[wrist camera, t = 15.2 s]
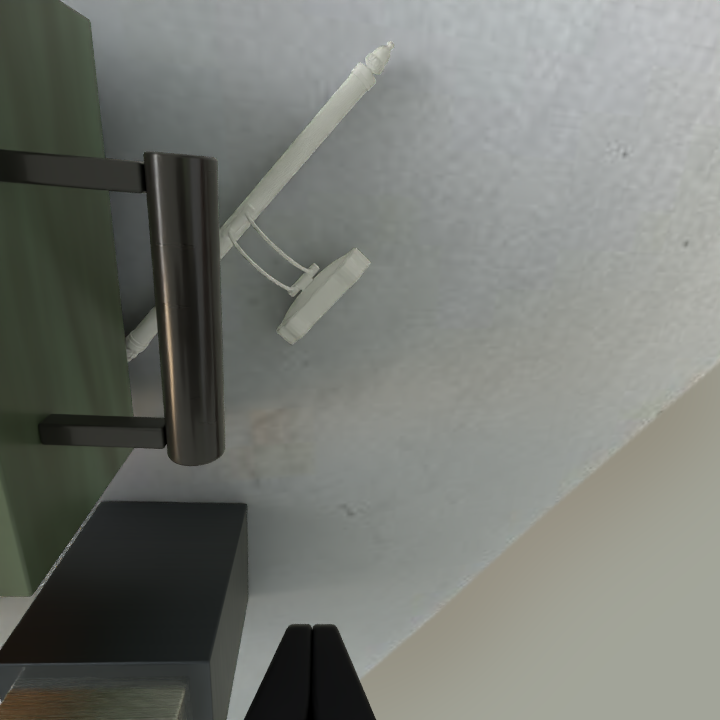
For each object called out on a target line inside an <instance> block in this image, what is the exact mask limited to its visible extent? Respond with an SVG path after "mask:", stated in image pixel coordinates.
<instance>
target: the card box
mask: <svg viewBox="0 0 720 720" xmlns="http://www.w3.org/2000/svg"><path fill="white" fill-rule="evenodd" d="M247 603H248V534H247V504H213V503H158V502H101V503H100V504H99V506H98V507H97V509H96V510H95V512H94V513H93V515H92V516H91V517H90V519H89V520H88V522H87V523H86V525H85V526H84V528H83V529H82V531H81V532H80V534H79V535H78V537H77V538H76V539H75V541H74V542H73V544H72V545H71V547H70V548H69V550H68V551H67V553H66V554H65V556H64V557H63V559H62V560H61V562H60V563H59V564H58V566H57V567H56V569H55V570H54V572H53V573H52V575H51V576H50V578H49V579H48V581H47V582H46V584H45V585H44V586H43V588H42V589H41V591H40V592H39V594H38V595H37V597H36V598H35V600H34V601H33V603H32V604H31V606H30V607H29V608H28V610H27V611H26V613H25V614H24V616H23V617H22V619H21V620H20V622H19V623H18V625H17V626H16V628H15V629H14V630H13V632H12V633H11V635H10V636H9V638H8V639H7V641H6V642H5V644H4V645H3V647H2V648H1V650H0V699H1V702H2V703H1V705H0V720H226V719H227V713H228V708H229V702H230V697H231V691H232V686H233V680H234V675H235V669H236V664H237V658H238V653H239V647H240V642H241V636H242V631H243V625H244V620H245V614H246V609H247Z"/></svg>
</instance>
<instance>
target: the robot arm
mask: <svg viewBox="0 0 720 720" xmlns="http://www.w3.org/2000/svg"><path fill="white" fill-rule="evenodd" d="M244 720H376V719H375V716H374V714H373V711H372V709H371V707H370V704H369V702H368V699H367V697H366V695H365V692H364V690H363V688H362V685H361V683H360V680H359V678H358V676H357V673H356V671H355V668H354V666H353V664H352V661H351V659H350V657H349V654H348V652H347V649H346V647H345V645H344V642H343V640H342V638H341V635H340V633H339V630H338V629H337V627H336V626H335V625H333V624H316V625H314V626H313V629H312V627H311V625H309V624H291V625H289V626H288V628H287V629H286V631H285V633H284V636H283V638H282V640H281V642H280V644H279V646H278V648H277V650H276V653H275V655H274V657H273V659H272V661H271V663H270V665H269V667H268V670H267V672H266V674H265V676H264V678H263V680H262V682H261V684H260V687H259V689H258V691H257V693H256V695H255V697H254V699H253V701H252V704H251V706H250V708H249V710H248V712H247V714H246V716H245V718H244Z"/></svg>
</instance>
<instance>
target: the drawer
mask: <svg viewBox="0 0 720 720" xmlns="http://www.w3.org/2000/svg"><path fill="white" fill-rule="evenodd" d="M143 157H144V162H143V161H132V160H121V159H109V158H105V152H104V142H103V133H102V124H101V115H100V106H99V97H98V87H97V78H96V69H95V60H94V51H93V42H92V32H91V23H90V20H89V19H87V18H86V17H84V16H83V15H81V14H80V13H78V12H77V11H75V10H73V9H72V8H70V7H69V6H67V5H66V4H64V3H63V2H61V1H60V0H0V596H4V597H29V596H32V595H33V594H34V592H35V591H36V589H37V588H38V586H39V585H40V584H41V582H42V581H43V579H44V578H45V576H46V575H47V573H48V572H49V571H50V569H51V568H52V566H53V565H54V563H55V562H56V560H57V559H58V558H59V556H60V555H61V553H62V552H63V550H64V549H65V547H66V546H67V545H68V543H69V542H70V540H71V539H72V537H73V536H74V534H75V533H76V532H77V530H78V529H79V527H80V526H81V524H82V523H83V521H84V520H85V519H86V517H87V516H88V514H89V513H90V511H91V510H92V508H93V507H94V506H95V504H96V503H97V501H98V500H99V498H100V497H101V495H102V494H103V493H104V491H105V490H106V488H107V487H108V485H109V484H110V482H111V481H112V479H113V478H114V477H115V475H116V474H117V472H118V471H119V469H120V468H121V466H122V465H123V464H124V462H125V461H126V459H127V458H128V456H129V455H130V453H131V452H132V451H133V449H134V448H154V449H163V448H165V446H166V444H167V453H168V456H169V458H170V459H171V460H172V461H173V462H175V463H177V464H180V465H184V466H199V465H204V464H208V463H210V462H213V461H215V460H216V459H218V458H219V457H220V456H221V455H222V454H223V453H224V451H225V417H224V380H223V343H222V306H221V270H220V233H219V196H218V161H217V159H216V158H214V157H206V156H196V155H186V154H175V153H164V152H153V151H146V152H144V154H143ZM109 191H116V192H128V193H140V194H141V193H146V194H147V207H148V219H149V231H150V244H151V256H152V268H153V281H154V293H155V305H156V318H157V330H158V342H159V355H160V367H161V379H162V392H163V404H164V416H165V418H154V417H133V408H132V399H131V390H130V381H129V371H128V362H127V353H126V344H125V335H124V326H123V316H122V307H121V298H120V289H119V280H118V271H117V261H116V252H115V243H114V234H113V225H112V216H111V206H110V197H109Z"/></svg>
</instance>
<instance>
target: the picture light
mask: <svg viewBox="0 0 720 720" xmlns="http://www.w3.org/2000/svg"><path fill="white" fill-rule="evenodd" d="M393 49H394V44H393V42H392V41H389V42H388V43H387V46H380V47H378V48H377V49H375V51H374V52H373V53H370V54H368V55H367V57H366V58H365V60H366V65H367V66H365V65H364V64H362V63H360V62H359V63H358V64H357V65H356V66H355V68H354V69H353V70H352V71H351V75H350V76H349V77H348V78H347V80H346V81H345V82H344V83H343V84H342V85H341V87H340V88H339V89H338V90H337V91H336V93H335V94H334V95H333V96H332V97H331V98H330V100H329V101H328V102H327V103H326V104H325V106H324V107H323V108H322V109H321V110H320V111H319V113H318V114H317V115H316V116H315V117H314V118H313V120H312V121H311V122H310V123H309V124H308V126H307V127H306V128H305V129H304V130H303V131H302V133H301V134H300V135H299V136H298V137H297V139H296V140H295V141H294V142H293V143H292V144H291V146H290V147H289V148H288V149H287V150H286V152H285V153H284V154H283V155H282V156H281V157H280V159H279V160H278V161H277V162H276V163H275V165H274V166H273V167H272V168H271V169H270V170H269V172H268V173H267V174H266V175H265V176H264V177H263V179H262V180H261V181H260V182H259V183H258V185H257V186H256V187H255V188H254V189H253V190H252V192H251V193H250V194H249V195H248V196H247V198H246V199H245V200H244V201H243V202H242V203H241V205H240V206H239V207H238V208H237V209H236V211H235V212H234V213H233V214H232V215H231V216H230V218H229V219H228V220H227V221H226V222H225V224H224V225H223V226H222V227H221V228H220V229H219V233H220V260H221V259H222V258H223V257H224V255H225V254H226V253H227V252H228V251H229V250H230V248H231V247H232V246H233V245H234V246H235V247H236V249H237V250H238V251H239V252H240V253H241V254H242V256H243V257H244V258H245V259H246V260H247V261H248V262H249V263H250V264H251V265H252V266H253V267H254V268H255V269H257V270H258V271H259V272H260V273H261V274H262V275H264V276H265V277H266V278H268V279H269V280H270V281H272V282H273V283H275V284H276V285H278V286H280V287H282V288H284V289H286V290H288V291H287V292H288V293H289V295H291V296H292V297H294V296H295V295H296V294H297V293H298V292H299V291H300V290H302V292H301V293H300V294H299V295H298V297H297V298H296V299H295V301H294V302H293V303H292V305H291V306H290V308H289V310H288V311H287V313H286V315H285V317H284V319H283V322H282V323H281V325H280V326H279V327H278V328H277V333H278V334H279V335H280V336H281V337H282V338H284V339H285V340H286V341H287V342H288V343H290V344H291V345H293V344H294V343H295V342H296V341H297V340H299V339H301V338H302V337H303V336H304V335H305V334H306V333H307V332H308V331H309V330H310V328H311V327H312V326H313V325H314V324H315V323H316V322H317V321H318V320H319V319H320V318H321V317H322V316H323V315H324V314H325V313H326V312H327V311H328V310H329V308H330V307H331V306H332V305H333V304H334V303H335V302H336V301H337V300H338V299H339V298H340V297H341V296H342V295H343V294H344V293H345V292H346V291H347V290H348V289H349V288H350V287H351V286H352V285H354V284H355V283H356V282H357V281H358V280H359V278H360V277H361V276H362V274H363V272H364V271H365V270H366V269H367V267H368V266H369V265H370V263H371V262H370V261H369V260H368V259H367V258H366V257H365V256H364V255H363V254H362V253H361V252H360V251H359V250H358V249H357V248H353V249H352V250H350V251H349V252H348V253H347V254H346V255H344V256H342V257H340V258H339V259H337V260H336V261H334V262H333V263H331V264H330V265H329V266H327V267H326V268H325V269H324V270H322V271H321V272H320V273H319V274H318V275H317V276H316V277H315V278H313V276H314V275H315V274H316V273H317V272H318V271H319V270H320V268H319V267H318V266H317V265H316V264H315V263H313V264H312V265H311V266H310V267H309V268H308V269H306V268H304V267H302V266H301V265H299V264H298V263H296V262H295V261H294V260H292V259H291V258H290V257H289V256H287V255H286V254H285V253H284V252H283V251H281V250H280V249H279V248H278V247H277V246H276V245H275V244H274V243H273V242H272V241H271V240H270V239H269V238H268V237H267V236H266V235H265V234H264V233H263V232H262V231H261V230H260V229H259V228H258V226H257V225H256V224H255V223H254V221H255V220H256V218H257V217H258V216H259V215H260V214H261V213H262V211H263V210H264V209H265V208H266V207H267V206H268V205H269V203H270V202H271V201H272V200H273V199H274V198H275V196H276V195H277V194H278V193H279V192H280V191H281V189H282V188H283V187H284V186H285V185H286V184H287V183H288V181H289V180H290V179H291V178H292V177H293V176H294V174H295V173H296V172H297V171H298V170H299V169H300V168H301V166H302V165H303V164H304V163H305V162H306V161H307V159H308V158H309V157H310V156H311V155H312V154H313V153H314V151H315V150H316V149H317V148H318V147H319V146H320V144H321V143H322V142H323V141H324V140H325V139H326V137H327V136H328V135H329V134H330V133H331V132H332V131H333V129H334V128H335V127H336V126H337V125H338V124H339V122H340V121H341V120H342V119H343V118H344V117H345V116H346V114H347V113H348V112H349V111H350V110H351V109H352V107H353V106H354V105H355V104H356V103H357V102H358V100H359V99H360V98H361V97H362V96H363V95H364V94H365V92H366V91H367V92H368V91H369V90H370V89H371V88H372V87H373V86H374V84H375V83H376V80H375V77H374V76H373V74H375V75H380V74H381V73H382V72H383V71H384V67H385V65H386V64H387V63H388V61H389V59H390V52H391V50H393ZM250 225H252V226H253V228H254V229H255V230H256V231H257V232H258V234H259V235H260V236H261V237H262V238H263V239H264V240H265V241H266V242H267V243H268V244H269V245H270V246H271V247H272V248H273V249H274V250H275V251H277V252H278V253H279V254H280V255H281V256H282V257H284V258H285V259H286V260H287V261H289V262H290V263H291V264H293V265H294V266H296V267H297V268H299V269H300V270H302V271H304V272H305V273H304V274H303V275H302V276H301V277H300V278H299V279H298V280H297V281H296V282H295V283H294V285H293V286H292V287H288V286H286V285H284V284H282V283H280V282H279V281H277V280H276V279H274V278H273V277H271V276H270V275H269V274H267V273H266V272H265V271H264V270H263V269H261V268H260V267H259V266H258V265H257V264H256V263H255V262H254V261H253V260H252V259H251V258H250V257H249V256H248V255H247V254H246V253H245V252H244V251H243V250H242V249H241V247H240V246H239V245H238V244H237V240H238V239H239V238H240V237H241V236H242V235H243V233H244V232H245V231H246V230H247V229H248V228H249V226H250ZM157 333H158V330H157V318H156V305H155V306H154V307H153V308H152V310H151V311H150V312H149V313H148V314H147V316H146V317H145V318H144V319H143V320H142V321H141V323H140V324H139V325H138V326H137V327H136V329H135V330H134V331H131V332H130V334H129V335H128V336H127V337H126V338H125V344H126V353H127V362H129V361H131V360H132V359H133V358H136V357H137V355H138V354H139V352H143V351H144V350H145V349H146V348H147V346H148V345H149V342H150V341H151V340H152V339H153V337H154V336H155V335H156V334H157Z"/></svg>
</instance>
